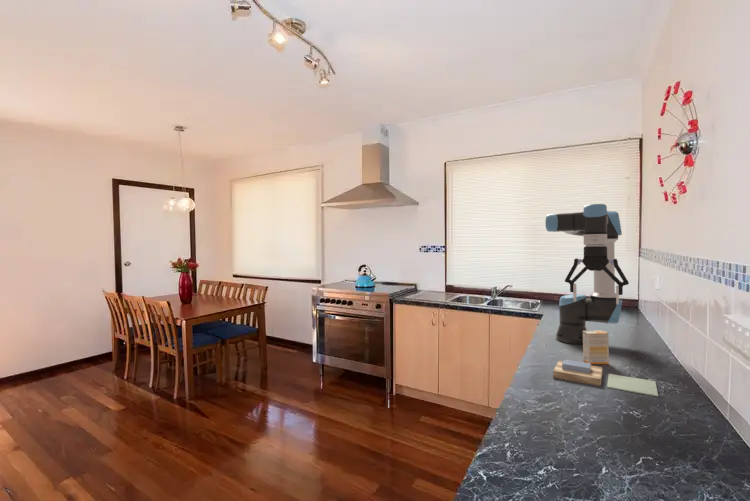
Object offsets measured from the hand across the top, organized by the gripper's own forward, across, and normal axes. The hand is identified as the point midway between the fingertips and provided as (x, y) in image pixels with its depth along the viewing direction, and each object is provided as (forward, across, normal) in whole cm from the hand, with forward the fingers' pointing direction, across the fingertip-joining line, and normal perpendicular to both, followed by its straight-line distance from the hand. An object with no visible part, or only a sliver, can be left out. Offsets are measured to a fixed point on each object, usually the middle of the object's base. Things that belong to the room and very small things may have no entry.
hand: (595, 302), depth 134 cm
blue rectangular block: (+25, -6, -3) cm, 26 cm away
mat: (+28, +11, -3) cm, 30 cm away
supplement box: (+28, -1, +17) cm, 33 cm away
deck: (+28, -6, -3) cm, 29 cm away
